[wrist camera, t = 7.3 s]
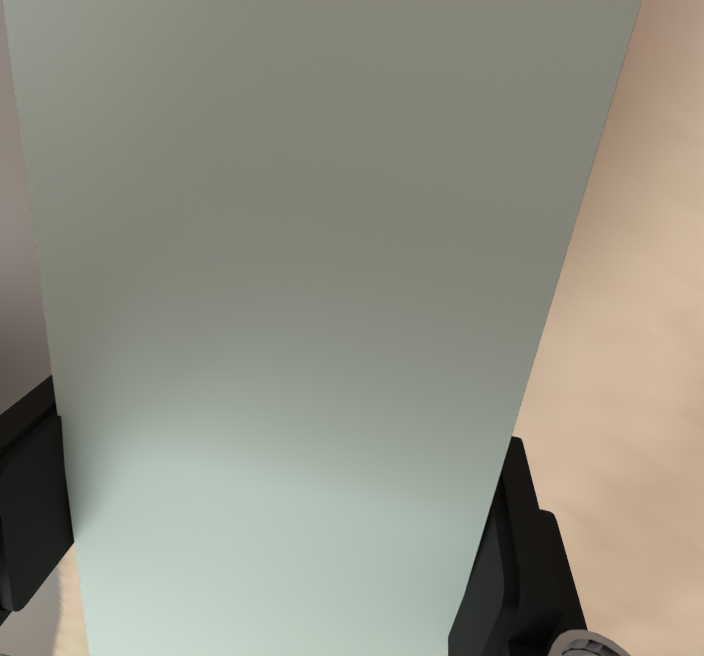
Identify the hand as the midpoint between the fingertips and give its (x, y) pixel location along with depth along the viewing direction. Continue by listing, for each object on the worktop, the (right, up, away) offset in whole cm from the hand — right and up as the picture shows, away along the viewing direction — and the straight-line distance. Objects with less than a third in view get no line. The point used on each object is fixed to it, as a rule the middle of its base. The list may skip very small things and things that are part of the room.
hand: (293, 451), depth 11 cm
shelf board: (0, +1, +1) cm, 1 cm away
